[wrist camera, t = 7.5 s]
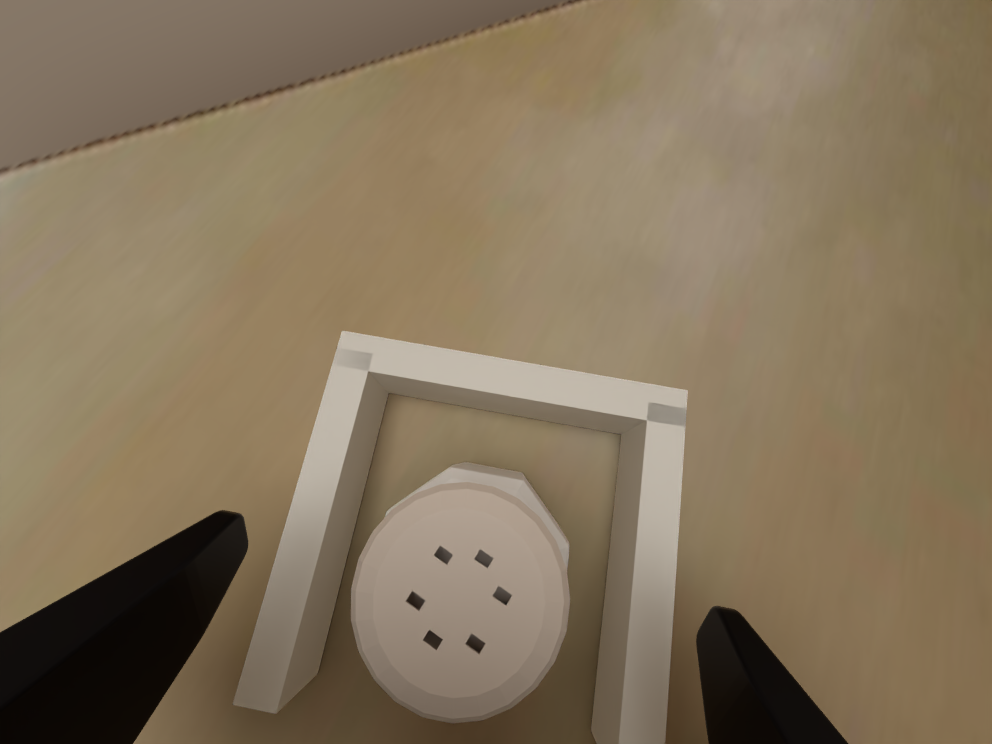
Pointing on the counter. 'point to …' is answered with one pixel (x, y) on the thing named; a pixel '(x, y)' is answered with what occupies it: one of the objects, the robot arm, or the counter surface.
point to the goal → (509, 390)
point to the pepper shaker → (462, 595)
